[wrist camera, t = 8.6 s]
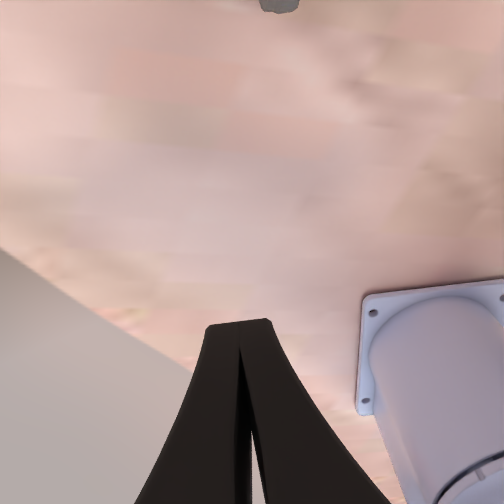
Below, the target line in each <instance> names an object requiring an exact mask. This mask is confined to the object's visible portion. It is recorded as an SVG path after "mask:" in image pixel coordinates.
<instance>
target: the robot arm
mask: <svg viewBox="0 0 504 504" xmlns="http://www.w3.org/2000/svg"><path fill="white" fill-rule="evenodd" d="M503 294H504V279H497V280H488V281H480V282H471V283H463V284H455V285H446V286H438V287H429V288H421V289H412V290H404V291H395V292H387V293H378V294H371V295H368V296H367V297H365V299H364V300H363V303H362V318H361V333H360V348H359V363H358V377H357V392H356V411H357V413H358V414H359V415H361V416H366V415H374V417H375V419H376V422H377V425H378V428H379V430H380V433H381V436H382V438H383V441H384V444H385V446H386V449H387V452H388V454H389V457H390V460H391V462H392V465H393V468H394V470H395V473H396V476H397V478H398V481H399V484H400V486H401V489H402V492H403V494H404V497H405V499H406V502H407V504H504V295H503ZM502 295H503V296H502ZM373 309H375V310H374V311H373V312H370V311H371V310H373ZM251 430H252V434H251ZM251 435H253V440H254V446H255V451H256V455H257V461H258V467H259V471H260V477H261V482H262V487H263V493H264V498H265V503H266V504H391V503H390V502H389V500H388V499H387V498H386V497H385V496H384V495H383V493H382V492H381V491H380V490H379V489H378V488H377V486H376V485H375V484H374V483H373V482H372V480H371V479H370V478H369V477H368V475H367V474H366V473H365V472H364V470H363V469H362V468H361V467H360V465H359V464H358V463H357V462H356V460H355V459H354V458H353V457H352V455H351V454H350V453H349V451H348V450H347V449H346V447H345V446H344V445H343V443H342V442H341V441H340V439H339V438H338V437H337V435H336V434H335V432H334V431H333V430H332V428H331V427H330V425H329V424H328V423H327V421H326V420H325V418H324V417H323V415H322V414H321V413H320V411H319V410H318V408H317V407H316V405H315V404H314V402H313V400H312V399H311V397H310V396H309V394H308V392H307V391H306V389H305V388H304V386H303V384H302V383H301V381H300V380H299V378H298V376H297V375H296V373H295V371H294V369H293V368H292V366H291V364H290V362H289V360H288V358H287V357H286V355H285V353H284V351H283V349H282V347H281V345H280V343H279V340H278V338H277V336H276V333H275V331H274V328H273V325H272V322H271V321H270V320H268V319H267V318H262V319H254V320H246V321H238V322H230V323H222V324H214V325H210V326H209V327H208V328H207V329H206V330H205V335H204V340H203V344H202V348H201V352H200V355H199V358H198V361H197V364H196V367H195V370H194V373H193V376H192V379H191V382H190V385H189V387H188V390H187V392H186V395H185V397H184V400H183V403H182V405H181V408H180V410H179V413H178V415H177V417H176V420H175V422H174V424H173V426H172V429H171V431H170V433H169V435H168V437H167V440H166V442H165V444H164V446H163V448H162V451H161V453H160V455H159V457H158V459H157V461H156V463H155V465H154V467H153V469H152V471H151V473H150V475H149V477H148V479H147V481H146V483H145V485H144V487H143V488H142V490H141V492H140V494H139V496H138V498H137V499H136V502H135V503H134V504H252V436H251Z"/></svg>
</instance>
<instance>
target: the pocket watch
mask: <svg viewBox="0 0 504 504" xmlns="http://www.w3.org/2000/svg"><path fill="white" fill-rule="evenodd" d="M259 2H260V5H261V8H262V10H263V11H264V12H275V13H277V14H281V13H287V12H292V11H294V10H295V9H296V8H298V4H299V0H259Z"/></svg>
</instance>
